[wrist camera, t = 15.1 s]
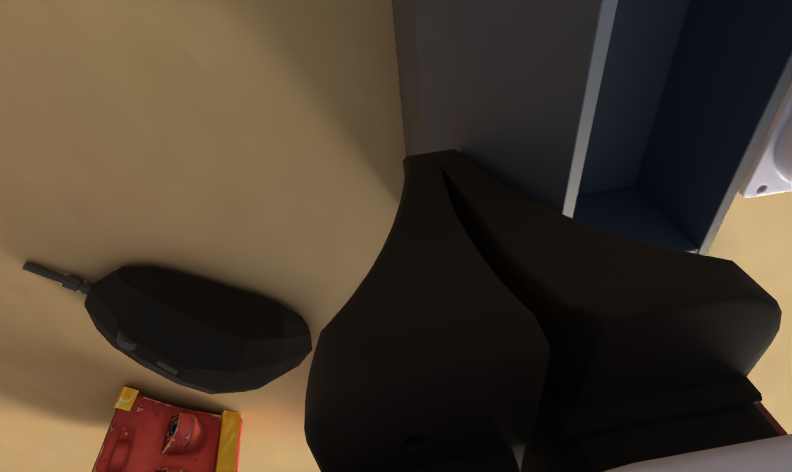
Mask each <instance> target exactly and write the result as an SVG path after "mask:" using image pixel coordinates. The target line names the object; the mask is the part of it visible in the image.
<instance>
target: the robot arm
mask: <svg viewBox="0 0 792 472" xmlns="http://www.w3.org/2000/svg"><path fill="white" fill-rule="evenodd" d="M403 166H404V177H405V179H404V186H403V191H402V196H401V201H400V204H399V208H398V211H397V214H396V217H395V220H394V223H393V226H392V228H391V231H390V233H389V235H388V238H387V240H386V242H385V244H384V246H383V248H382V250H381V252H380V254H379V255H378V257H377V259H376V261H375V263H374V264H373V266H372V268H371V269H370V271H369V273H368V274H367V276H366V277H365V278H364V280H363V281H362V283H361V284H360V285H359V287H358V288H357V290H356V291H355V292H354V294H353V295H352V297H351V298H350V299H349V300H348V302H347V303H346V304H345V305H344V306H343V307H342V309H341V310H340V311H339V312H338V313H337V314H336V315H335V316H334V317H333V319H332V320H331V321H330V322H329V323H328V324H327V325H326V326H325V328H324V329H323V330H322V331H321V333H320V336H319V339H318V342H317V346H316V349H315V352H314V356H313V360H312V364H311V368H310V372H309V378H308V384H307V390H306V399H305V424H304V431H305V436H306V441H307V444H308V446H309V448H310V450H311V452H312V454H313V456H314V458H315V460H316V462H317V464H318V466H319V469H320V471H321V472H792V434H789V435H784V436H780V435H779V433H778V432H777V431H776V430H775V429H774V427H773V426H772V425H771V424H770V423H769V421H768V420H767V419H766V418H765V417H764V415H763V414H762V413H761V412H760V411H759V409H758V408H757V407H756V406H755V405H756V404H759V403H760V402H761V401H762V396H761V393H760V392H759V391H758V390H757V389H756V387H755V386H754V385H753V384H752V383H751V382H750V380H749V379H748V378H747V375H748V374H749V373H750V371H751V370H752V369H753V367H754V366H755V364H756V363H757V362H758V360H759V359H760V358H761V356H762V355H763V354H764V352H765V351H766V350H767V348H768V347H769V346H770V344H771V343H772V341H773V340H774V338H775V336H776V334H777V332H778V331H779V327H780V321H781V314H782V311H781V309H780V307H779V305H778V303H777V301H776V300H775V299H774V298H773V297H772V296H771V295H770V294H768V293H767V292H766V291H765V290H764V289H763V288H762V287H761V286H760V285H759V284H757V283H756V282H755V281H754V280H753V279H752V278H751V277H750V276H749V275H748V274H747V273H745V272H744V271H743V270H742V269H741V268H740V267H739V266H738V265H737V264H735V263H734V262H733V261H731V260H726V259H720V258H715V257H710V256H705V255H700V254H695V253H690V252H685V251H680V250H675V249H670V248H666V247H662V246H658V245H654V244H650V243H646V242H643V241H639V240H635V239H631V238H628V237H625V236H621V235H618V234H615V233H611V232H608V231H606V230H603V229H600V228H597V227H594V226H591V225H588V224H586V223H583V222H580V221H578V220H575V219H573V218H570V217H568V216H565V215H563V214H561V213H559V212H557V211H554V210H552V209H550V208H548V207H546V206H543V205H542V204H540V203H538V202H536V201H534V200H532V199H530V198H528V197H526V196H525V195H523V194H521V193H519V192H518V191H516V190H514V189H512V188H511V187H509V186H507V185H506V184H504V183H503V182H501V181H500V180H498V179H496V178H495V177H493V176H492V175H490V174H489V173H488V172H486V171H485V170H483V169H482V168H480V167H479V166H478V165H476V164H475V163H473V162H472V161H471V160H469V159H468V158H466V157H465V156H464V155H462V154H461V153H459V152H458V151H456V150H455V149H450V150H444V151H437V152H430V153H424V154H417V155H410V156H407V157H406V158H405V159H404V160H403ZM787 191H792V81H791V83H790V85H789V87H788V89H787V91H786V94H785V96H784V98H783V100H782V102H781V104H780V106H779V108H778V110H777V112H776V114H775V116H774V118H773V120H772V122H771V124H770V126H769V128H768V130H767V132H766V134H765V136H764V138H763V141H762V143H761V145H760V147H759V149H758V151H757V153H756V155H755V157H754V159H753V161H752V163H751V165H750V167H749V169H748V171H747V173H746V175H745V177H744V179H743V181H742V183H741V186H740V188H739V191H738V192H739V194H741V195H742V196H743V197H745V198H749V197H756V196H762V195H768V194H774V193H781V192H787Z"/></svg>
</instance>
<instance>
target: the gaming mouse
mask: <svg viewBox="0 0 792 472" xmlns="http://www.w3.org/2000/svg"><path fill="white" fill-rule="evenodd" d="M23 269H24V270H27V271H30V272H32V273H35V274H38V275H41V276H43V277H46V278H49V279H52V280H54V281H57V282H60V283H62V286H63V287H65V288H68V289H71V290H74V291H77V290H80V291H81V293H84V294H87V297H86V300H85V308H86V310H87V311H88V313H89V315H90V317H91V319H92V321H93V323H94V325H95V327H96V328H97V330H98V331H99V332H100V333H101V334H102V335H103V336H104V337H105V338H106V340H107V341H108V342H109V343H110V344H111V345H112V346H113V347H114V348H116V349H117V350H119V351H121V352H122V353H124V354H125V355H127V356H128V357H130V358H131V359H133V360H134V361H136V362H137V363H139V364H140V365H142V366H144V367H146V368H148V369H150V370H152V371H153V372H155V373H157V374H159V375H161V376H163V377H165V378H167V379H169V380H171V381H173V382H175V383H177V384H179V385H182V386H185V387H189V388H192V389H195V390H199V391H202V392H205V393H209V394H220V393H234V392H245V391H250V390H255V389H259V388H261V387H262V386H264V385H266V384H268V383H269V382H271V381H273V380H275V379H276V378H278V377H280V376H281V375H283V374H285V373H287V372H288V371H290V370H292V369H294V368H295V367H297V366H299V365H300V363H301V362H302V361H303V360H304V359H305V358H306V356H307V355H308V354H309V353H310V352H311V351H312V342H311V334H310V330H309V327H308V325H307V323H306V322H305V321H304V319H303V318H302V317H301V316H300V315H299V314H297V313H295V312H294V311H292V310H290V309H289V308H287V307H285V306H284V305H282V304H280V303H279V302H277V301H274V300H272V299H269V298H265V297H262V296H259V295H256V294H253V293H249V292H245V291H242V290H238V289H234V288H230V287H227V286H223V285H220V284H217V283H214V282H210V281H207V280H204V279H201V278H197V277H194V276H191V275H187V274H183V273H179V272H175V271H172V270H168V269H164V268H160V267H121V268H119V269H117V270H116V271H114V272H112V273H111V274H109V275H108V276H106V277H104V278H103V279H101V280H99V281H98V282H96V283H94V284H93V283H90V282H83V279H81V278H78V277H76V276H73V275H70V274H69V275H68V276H65V275H63V274H60V273H57V272H55V271H52V270H49V269H46V268H44V267H41V266H38V265H36V264H33V263H30V262H26V263H25V264H24V266H23Z"/></svg>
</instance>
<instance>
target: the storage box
mask: <svg viewBox="0 0 792 472" xmlns="http://www.w3.org/2000/svg"><path fill="white" fill-rule="evenodd" d="M392 6H393V17H394V28H395V39H396V51H397V62H398V73H399V84H400V95H401V106H402V118H403V129H404V140H405V151H406V157H407V156H410V155H417V154H424V150H423V133H422V117H421V100H420V83H419V66H418V50H417V33H416V16H415V0H392ZM791 80H792V0H618V3H617V7H616V12H615V17H614V22H613V27H612V31H611V36H610V41H609V46H608V51H607V55H606V60H605V65H604V70H603V75H602V79H601V84H600V89H599V94H598V99H597V103H596V108H595V113H594V118H593V123H592V127H591V132H590V137H589V142H588V147H587V151H586V156H585V161H584V166H583V171H582V175H581V180H580V185H579V190H578V195H577V199H576V204H575V209H574V214H573V219H575V220H578V221H580V222H583V223H586V224H588V225H591V226H594V227H597V228H600V229H603V230H606V231H608V232H611V233H615V234H618V235H621V236H625V237H628V238H631V239H635V240H639V241H643V242H646V243H650V244H654V245H658V246H662V247H666V248H670V249H675V250H680V251H685V252H690V253H695V254H700V255H706V254H707V252H708V250H709V248H710V246H711V244H712V242H713V240H714V238H715V236H716V234H717V232H718V230H719V228H720V226H721V224H722V222H723V220H724V218H725V216H726V213H727V211H728V209H729V207H730V205H731V203H732V201H733V199H734V197H735V195H736V193H737V191H738V189H739V187H740V185H741V183H742V181H743V179H744V177H745V175H746V173H747V170H748V168H749V166H750V164H751V162H752V160H753V158H754V156H755V154H756V152H757V150H758V148H759V146H760V144H761V142H762V140H763V138H764V136H765V134H766V132H767V130H768V127H769V125H770V123H771V121H772V119H773V117H774V115H775V113H776V111H777V109H778V107H779V105H780V103H781V101H782V99H783V97H784V95H785V93H786V91H787V89H788V87H789V84H790V82H791Z"/></svg>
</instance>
